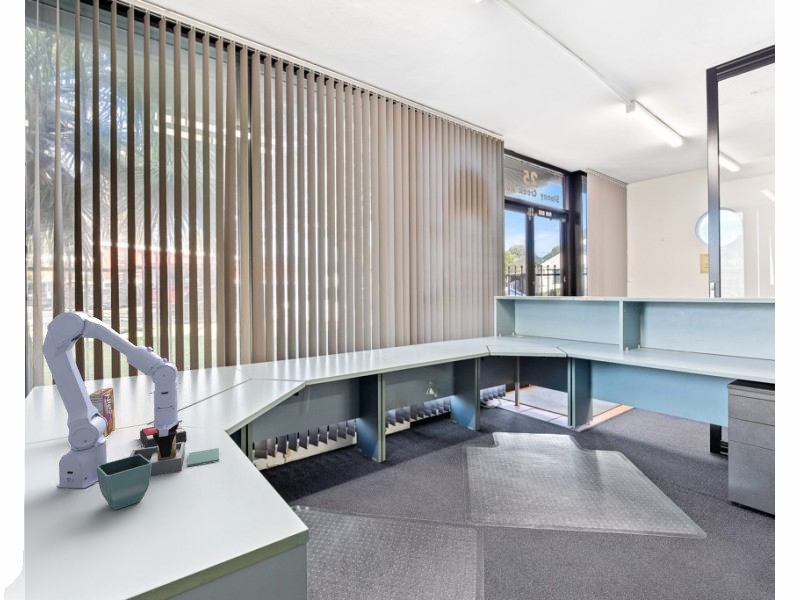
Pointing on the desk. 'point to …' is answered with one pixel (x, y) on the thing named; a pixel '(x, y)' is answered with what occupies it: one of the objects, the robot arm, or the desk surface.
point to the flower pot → (124, 480)
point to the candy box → (105, 407)
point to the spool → (173, 452)
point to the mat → (203, 457)
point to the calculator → (147, 433)
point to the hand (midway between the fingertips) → (166, 453)
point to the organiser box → (163, 465)
